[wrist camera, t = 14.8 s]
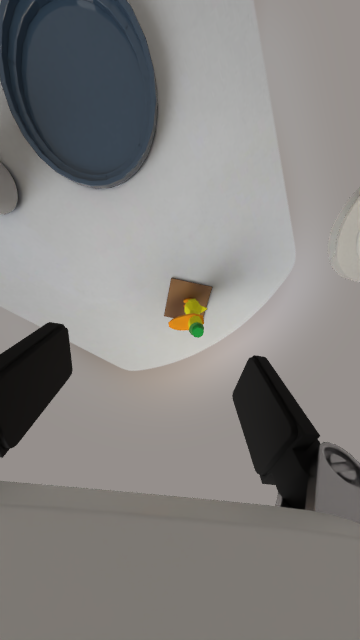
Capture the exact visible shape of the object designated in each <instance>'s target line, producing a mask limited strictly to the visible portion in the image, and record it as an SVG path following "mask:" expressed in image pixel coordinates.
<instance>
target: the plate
mask: <svg viewBox="0 0 360 640" xmlns="http://www.w3.org/2000/svg"><path fill="white" fill-rule="evenodd" d="M0 80H1V84H2V87H3V90H4V93H5V96H6V99H7V102H8V105H9V108H10V111H11V113H12V115H13V117H14V119H15V121H16V122H17V124H18V126H19V128H20V130H21V132H22V134H23V136H24V137H25V139H26V140H27V141H28V143H29V144H30V145H31V146H32V148H33V149H34V150H35V152H36V153H37V154H38V156H39V157H40V158H41V159H42V160H43V161H45V162H46V163H47V164H48V165H49V166H50V167H51V168H52V169H53V170H55V171H56V172H57V173H59V174H61V175H62V176H64V177H66V178H68V179H69V180H71V181H73V182H75V183H77V184H79V185H83V186H87V187H91V188H95V189H99V188H111V187H114V186H116V185H119V184H121V183H123V182H125V181H127V180H128V179H129V178H130V177H131V176H133V175H134V174H135V173H136V172H137V171H138V170H139V168H140V167H141V165H142V164H143V162H144V160H145V159H146V157H147V156H148V153H149V150H150V147H151V144H152V141H153V138H154V135H155V129H156V119H157V110H158V106H157V92H156V80H155V74H154V69H153V65H152V61H151V57H150V53H149V49H148V45H147V41H146V38H145V36H144V33H143V31H142V29H141V27H140V25H139V22H138V20H137V18H136V16H135V13H134V11H133V9H132V7H131V6H130V4H129V3H128V2H127V0H1V3H0Z"/></svg>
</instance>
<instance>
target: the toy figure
mask: <svg viewBox="0 0 360 640" xmlns="http://www.w3.org/2000/svg"><path fill="white" fill-rule="evenodd" d="M183 302H184V303H186V304H185V305H184V311H185V313H186V315H182V316H178V317H176V318H173V319H172V320H171V321H170V322H169V327H170V328H172V329H175V330H189V332H190V333H191V334H192V335H194V337H198V338H199V337H201V336H202V335H203V332H204V331H203V330H204V327H203V324H204V320H203V315H200V313H201V312H203V311H205V310H207V308H205V307H203V306H201V305H200V304H199V302H198V301H196V299H192V298H186V299H184V300H183Z"/></svg>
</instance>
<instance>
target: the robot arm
mask: <svg viewBox="0 0 360 640" xmlns="http://www.w3.org/2000/svg"><path fill="white" fill-rule="evenodd" d="M356 252H357V255H358V258H359V259H360V229H359V232H358V235H357V239H356ZM71 374H72V361H71V353H70V344H69V335H68V329H67V328H65V326H64V325H63V324H58V323H52V322H49V323H47V324H45V325H44V326H42V327H41V328H39V329H38V330H36V331H35V332H33V333H32V334H31V335H29V336H27V337H26V338H24V339H23V340H21V341H20V342H18V343H17V344H15V345H14V346H12V347H11V348H9V349H8V350H6V351H5V352H3V353H2V354H0V457H3V456H4V455H5V454H6V453H7V451H8V450H9V449H10V448H13V447H14V446H16V445H17V444H18V443H19V441H20V440H21V439H22V437H23V436H24V435H25V434H26V432H27V431H28V430H29V429H30V427H31V426H32V425H33V423H34V422H35V421H36V420H37V418H38V417H39V416H40V414H41V413H42V412H43V411H44V409H45V408H46V407H47V406H48V404H49V403H50V402H51V400H52V399H53V398H54V397H55V395H56V394H57V393H58V391H59V390H60V389H61V388H62V386H63V385H64V384H65V382H66V381H67V380H68V379H69V377H70V375H71ZM233 401H234V405H235V408H236V411H237V414H238V417H239V420H240V423H241V427H242V430H243V433H244V436H245V439H246V443H247V445H248V449H249V452H250V455H251V459H252V462H253V465H254V468H255V471H256V472H257V473H258V474H259V475H260V478H261V480H262V484H271V485H276V487H277V490H278V497H277V501H276V505H275V506H269V505H258V504H249V503H239V502H229V501H218V500H207V499H198V498H187V497H177V496H166V495H155V494H142V493H133V492H121V491H111V490H100V489H88V488H77V487H65V486H53V485H42V484H30V483H17V482H6V481H0V640H360V463H359V462H358V461H357V460H356V459H355V458H354V457H353V456H352V455H351V454H349V453H348V452H347V451H345V450H344V449H343V448H341V447H339V446H337V445H335V444H332V443H329V442H323V443H322V444H320V442H319V441H318V438H319V436H320V435H319V433H318V432H317V431H316V429H315V428H314V426H313V425H312V423H311V422H310V420H309V419H308V418H307V416H306V415H305V413H304V412H303V410H302V409H301V408H300V406H299V405H298V403H297V402H296V400H295V399H294V397H293V396H292V395H291V393H290V392H289V390H288V389H287V387H286V386H285V384H284V383H283V381H282V380H281V378H280V377H279V376H278V374H277V373H276V371H275V370H274V368H273V367H272V366H271V364H270V363H269V361H268V360H267V358H265V357H261V356H253V357H252V358H249V360H248V361H247V363H246V366H245V368H244V370H243V372H242V374H241V376H240V379H239V381H238V383H237V385H236V387H235V389H234V392H233Z"/></svg>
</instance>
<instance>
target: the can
mask: <svg viewBox="0 0 360 640" xmlns="http://www.w3.org/2000/svg"><path fill="white" fill-rule="evenodd" d="M17 200H18V195H17V188H16V185H15V182H14V180H13V178H12V176H11V175H10V173H9V171H8V170H7V169H6V168H5V167H4V166H3V164H2V163H1V162H0V214H7V213H10V212H12V210H13V209H14V208H15V207H16V204H17Z"/></svg>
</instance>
